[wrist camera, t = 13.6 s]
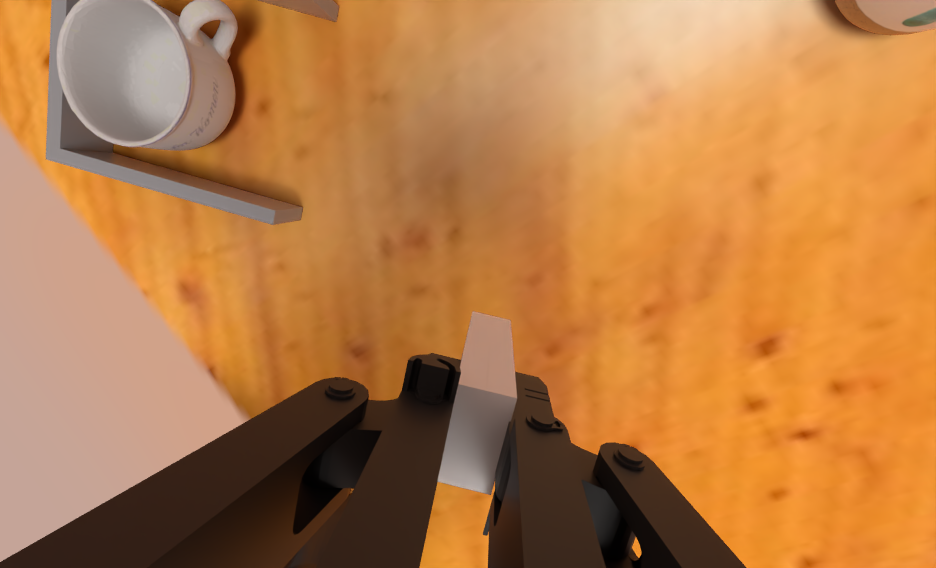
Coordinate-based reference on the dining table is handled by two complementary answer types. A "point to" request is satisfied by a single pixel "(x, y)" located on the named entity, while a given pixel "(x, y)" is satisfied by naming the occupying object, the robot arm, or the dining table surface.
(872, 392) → the dining table surface
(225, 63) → the teacup
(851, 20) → the vase
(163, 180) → the box
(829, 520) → the dining table surface
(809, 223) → the dining table surface
